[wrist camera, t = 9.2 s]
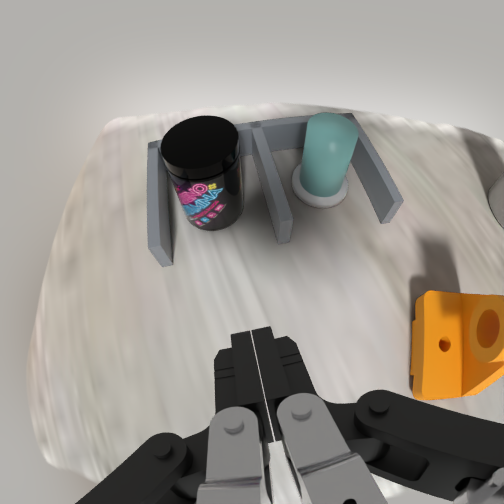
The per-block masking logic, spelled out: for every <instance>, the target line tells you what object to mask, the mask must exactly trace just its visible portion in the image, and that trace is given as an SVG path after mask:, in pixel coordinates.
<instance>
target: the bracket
mask: <svg viewBox="0 0 504 504" xmlns="http://www.w3.org/2000/svg"><path fill="white" fill-rule="evenodd" d="M415 314H416V320H414V321H412V354H411V372H410V375H414V379H413V396H414V398H415V399H417V400H437V399H447V398H456V397H464V396H471V395H476V394H478V393H479V392H481V391H482V390H484V389H485V388H486V387H488V386H489V385H491V384H492V383H493V382H495V381H496V380H497V379H499V378H500V377H501V376H503V375H504V296H503V295H480V294H464V293H452V292H442V291H432V290H430V291H427V292H426V293H425V294H423V295H422V296H420V297H419V298H418V299H417V300H416V303H415Z"/></svg>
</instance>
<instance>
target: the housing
mask: <svg viewBox="0 0 504 504" xmlns="http://www.w3.org/2000/svg"><path fill="white" fill-rule="evenodd" d="M234 126H235V127H236V129H237V131H238V135H239V145H240V156H245V155H251V154H252V155H253V158H254V162H255V165H256V168H257V172H258V175H259V179H260V182H261V185H262V189H263V192H264V196H265V199H266V203H267V206H268V210H269V213H270V217H271V220H272V224H273V228H274V231H275V235H276V238H277V242H278V244H281V243H286V242H289V241H290V236H291V230H292V225H293V217H292V213H291V210H290V207H289V204H288V201H287V198H286V195H285V192H284V189H283V186H282V183H281V180H280V177H279V175H278V172H277V169H276V166H275V163H274V160H273V157H272V155H271V151H278V150H285V149H293V148H301V147H304V151H303V157H302V163H300V164H299V165H298V166H297V167H296V168H295V170H294V172H293V176H292V188H293V191H294V193H295V194H296V196H297V197H298V198H299V199H300V200H301V201H302V202H304V203H306V204H307V205H310V206H312V207H316V208H331V207H334V206H336V205H338V204H339V203H341V202H342V201H343V199H344V198H345V195H346V193H347V190H348V180H347V177H346V172H347V169H348V166H349V163H350V161H351V163H352V165H353V167H354V169H355V171H356V172H357V174H358V176H359V178H360V180H361V182H362V184H363V186H364V188H365V190H366V193H367V195H368V197H369V199H370V201H371V203H372V205H373V207H374V210H375V212H376V214H377V216H378V218H379V221H380V223H381V224H384V223H389V222H390V221H391V219H392V218H393V216H394V215H395V213H396V212H397V210H398V209H399V207H400V206H401V204H402V203H403V201H404V200H403V198H402V196H401V194H400V192H399V191H398V189H397V187H396V185H395V183H394V181H393V179H392V178H391V176H390V174H389V172H388V170H387V169H386V167H385V165H384V163H383V162H382V160H381V158H380V157H379V155H378V153H377V152H376V150H375V148H374V147H373V145H372V143H371V142H370V140H369V139H368V137H367V135H366V134H365V132H364V131H363V129H362V128H361V126H360V125H359V123H358V122H357V120H356V119H355V117H354V116H353V114H352V113H343V114H334V113H319V114H316V115H310V116H299V117H289V118H279V119H271V120H263V121H256V122H249V123H242V124H236V125H234ZM161 142H162V140H158V141H154V142H150V143H148V160H147V231H148V249H149V250H150V251H151V253H152V254H153V255H154V257H155V258H156V260H157V261H158V262H159V264H160V265H161V266H162V267H165V266H170V265H173V259H172V248H171V236H170V223H169V208H168V190H167V171H168V170H167V169H166V166H165V163H164V160H163V157H162V155H161V150H160V146H161Z"/></svg>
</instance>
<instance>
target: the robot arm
mask: <svg viewBox="0 0 504 504" xmlns="http://www.w3.org/2000/svg"><path fill="white" fill-rule="evenodd" d="M488 199H489V204H490V207H491V209H492V212H493V214H494V215H495V217H496V219H497V220H498V222H499V223H500V224H501V226H502V227H503V228H504V172H503V174H502V175H501V176H500V177H499V178H498V180H497V181H496V182H495V183H494V184H493V186H492V187H491V188H490V190H489V192H488ZM252 335H253V340H254V345H255V350H256V355H257V359H258V364H259V369H260V374H261V378H262V383H263V388H264V392H265V397H266V402H267V406H268V410H269V415H270V419H271V423H272V427H273V432H274V436H275V440H276V441H280V440H282V444H283V448H284V452H285V456H286V461H287V463H288V466H289V469H290V472H291V475H292V477H293V480H294V483H295V486H296V489H297V491H298V494H299V497H300V499H301V502H302V504H388V503H387V501H386V500H385V498H384V496H383V494H382V492H381V491H380V489H379V487H378V485H377V484H376V482H375V480H374V478H373V477H372V475H371V473H373V474H375V475H377V476H380V477H382V478H385V479H387V480H390V481H392V482H395V483H397V484H400V485H403V486H405V487H408V488H411V489H414V490H417V491H420V492H423V493H426V494H429V495H432V496H436V497H439V498H443V499H446V500H449V501H453V504H504V424H501V423H497V422H493V421H488V420H484V419H480V418H476V417H472V416H469V415H465V414H461V413H458V412H454V411H450V410H447V409H444V408H440V407H437V406H434V405H430V404H427V403H424V402H421V401H417V400H414V399H411V398H408V397H405V396H402V395H399V394H396V393H393V392H390V391H387V390H373V391H370V392H367V393H366V394H364V395H362V396H361V397H360V398H359V399H358V401H357V403H347V404H336V403H331V402H328V401H325V400H323V399H322V398H321V397H319V396H318V394H317V393H316V391H315V389H314V387H313V384H312V382H311V379H310V377H309V374H308V372H307V369H306V367H305V364H304V362H303V359H302V357H301V354H300V352H299V349H298V347H297V344H296V343H295V342H294V341H293V340H291V339H290V338H289V337H288V336H285V337H281V338H276V339H274V336H273V333H272V329H271V327H270V326H269V327H264V328H260V329H255V330H252ZM231 343H232V348H227V349H222V350H219V352H218V354H217V355H216V357H215V359H214V371H215V372H214V377H215V408H216V413H215V416H214V417H213V418H212V420H211V422H210V425H209V426H208V427H207V428H206V429H205V430H203V431H202V432H199V433H197V434H195V435H192V436H189V437H187V438H184V439H182V438H181V437H180V436H178V435H176V434H173V433H159V434H156V435H154V436H152V437H150V438H149V439H148V440H147V441H146V442H145V443H144V444H142V445H141V446H140V447H139V448H138V449H137V450H136V451H135V452H134V453H133V454H132V455H131V456H130V457H128V458H127V459H126V460H125V461H124V462H123V463H122V464H121V465H120V466H118V467H117V468H116V469H115V470H114V471H113V472H112V473H111V474H109V475H108V476H107V477H106V478H105V479H104V480H103V481H101V482H100V483H99V484H98V485H97V486H96V487H95V488H93V489H92V490H91V491H90V492H89V493H88V494H86V495H85V496H84V497H83V498H81V499H80V500H79V501H78V502H77V503H75V504H274V495H273V485H272V475H271V466H270V452H269V447H268V443H271V442H274V440H273V436H272V431H271V427H270V422H269V417H268V413H267V408H266V403H265V399H264V394H263V389H262V384H261V379H260V375H259V370H258V365H257V361H256V356H255V352H254V347H253V343H252V338H251V334H250V331H245V332H240V333H235V334H231Z"/></svg>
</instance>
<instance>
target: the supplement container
mask: <svg viewBox="0 0 504 504" xmlns="http://www.w3.org/2000/svg"><path fill="white" fill-rule="evenodd" d="M160 150H161V155H162V157H163V160H164V163H165V166H166V169H167V170H168V172H169V175H170V177H171V180H172V183H173V185H174V188H175V191H176V193H177V196H178V198H179V201H180V203H181V206H182V208H183V211H184V213H185V216H186V218H187V220H188V221H189V222H190V223H191V224H192V225H193V226H195V227H197V228H199V229H202V230H206V231H217V230H221V229H224V228H226V227H228V226H230V225H232V224H233V223H234V222H235V221H236V220H237V219H238V218H239V216H240V215H241V213H242V210H243V206H244V199H243V187H242V175H241V163H240V145H239V135H238V131H237V129H236V127H235V126H234V125H233V124H232V123H231V122H229V121H228V120H226V119H224V118H221V117H217V116H197V117H193V118H189V119H186V120H184V121H182V122H180V123H178V124H176V125H175V126H174V127H172V128H171V129H170V130H169V131H168V132H167V133H166V134H165V136H164V137H163V139H162V142H161V146H160Z"/></svg>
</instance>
